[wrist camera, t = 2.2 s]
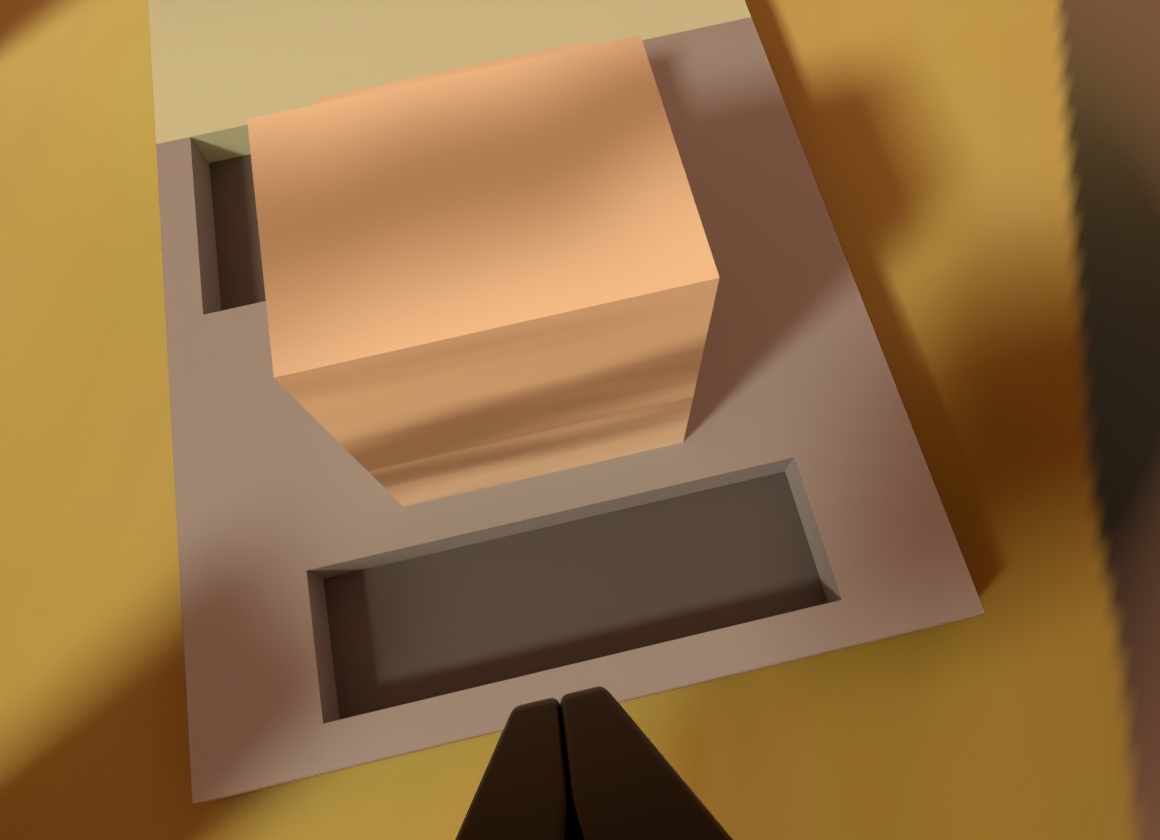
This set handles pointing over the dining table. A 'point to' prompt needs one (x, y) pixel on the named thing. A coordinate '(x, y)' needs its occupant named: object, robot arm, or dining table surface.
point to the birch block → (486, 268)
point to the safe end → (361, 49)
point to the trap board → (544, 488)
